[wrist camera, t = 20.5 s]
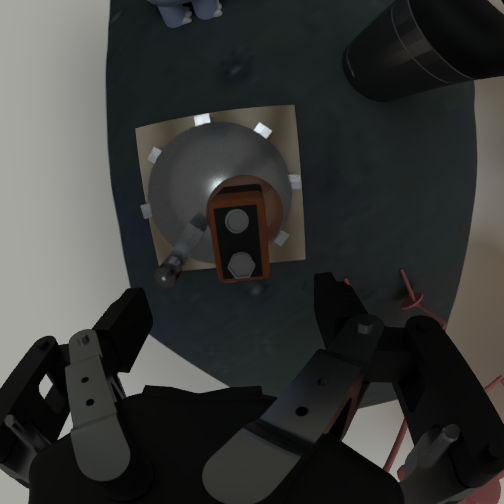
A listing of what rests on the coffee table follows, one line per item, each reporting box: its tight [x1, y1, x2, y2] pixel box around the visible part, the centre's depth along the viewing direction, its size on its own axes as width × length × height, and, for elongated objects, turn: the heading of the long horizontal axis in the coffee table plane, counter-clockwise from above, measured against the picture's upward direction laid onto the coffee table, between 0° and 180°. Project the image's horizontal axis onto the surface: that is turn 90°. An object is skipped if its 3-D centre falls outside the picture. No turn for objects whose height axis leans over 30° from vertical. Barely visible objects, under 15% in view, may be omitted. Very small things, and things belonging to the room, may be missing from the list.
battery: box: [208, 184, 270, 282], centre depth 25 cm, size 4×7×10 cm, turn 5°
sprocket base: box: [136, 105, 305, 283], centre depth 31 cm, size 19×20×4 cm
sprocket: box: [141, 113, 302, 292], centre depth 28 cm, size 20×18×7 cm
